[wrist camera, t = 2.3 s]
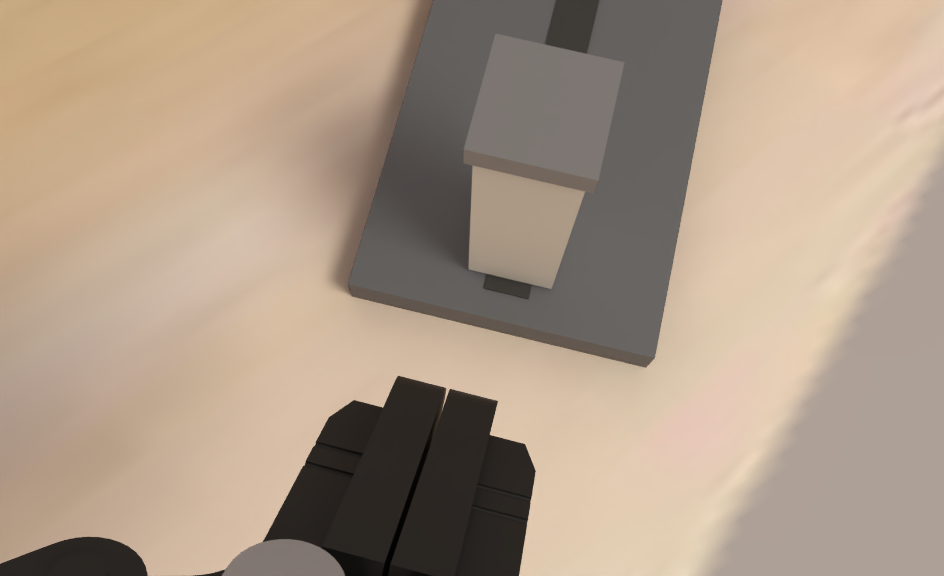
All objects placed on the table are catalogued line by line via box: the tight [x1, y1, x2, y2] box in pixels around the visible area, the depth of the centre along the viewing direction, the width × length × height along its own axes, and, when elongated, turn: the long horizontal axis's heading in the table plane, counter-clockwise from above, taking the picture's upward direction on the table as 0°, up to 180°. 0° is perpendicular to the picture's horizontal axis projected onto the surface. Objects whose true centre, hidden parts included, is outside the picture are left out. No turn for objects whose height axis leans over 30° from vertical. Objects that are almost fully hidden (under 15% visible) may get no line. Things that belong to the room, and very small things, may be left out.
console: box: [348, 0, 722, 367], centre depth 34 cm, size 11×24×4 cm, turn 166°
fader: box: [463, 34, 625, 289], centre depth 27 cm, size 3×3×10 cm
